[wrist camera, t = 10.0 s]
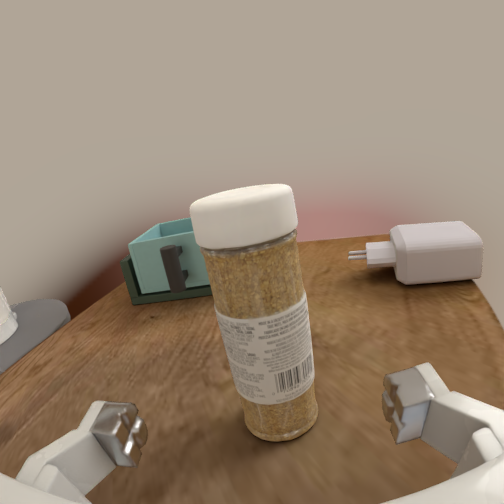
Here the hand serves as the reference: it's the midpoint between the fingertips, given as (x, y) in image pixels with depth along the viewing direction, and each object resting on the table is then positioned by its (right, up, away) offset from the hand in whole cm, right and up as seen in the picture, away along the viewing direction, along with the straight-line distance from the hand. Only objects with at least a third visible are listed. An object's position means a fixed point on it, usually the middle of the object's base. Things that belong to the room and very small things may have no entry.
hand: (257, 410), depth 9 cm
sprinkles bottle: (+2, -5, +8) cm, 10 cm away
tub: (-8, +2, +33) cm, 34 cm away
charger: (+18, +3, +24) cm, 31 cm away
